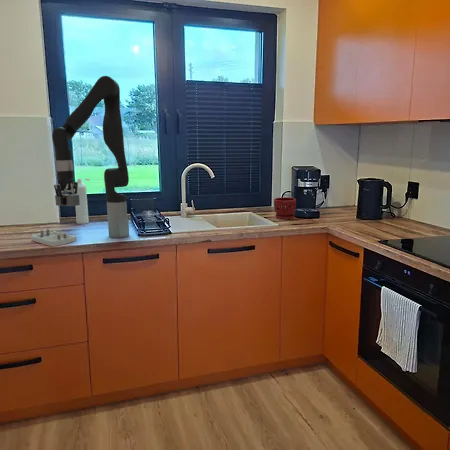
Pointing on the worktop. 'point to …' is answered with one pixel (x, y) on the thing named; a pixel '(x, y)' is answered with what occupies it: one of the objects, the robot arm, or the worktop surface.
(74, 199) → the block
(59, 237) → the tray
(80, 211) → the water bottle
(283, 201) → the plant pot
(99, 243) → the worktop surface
